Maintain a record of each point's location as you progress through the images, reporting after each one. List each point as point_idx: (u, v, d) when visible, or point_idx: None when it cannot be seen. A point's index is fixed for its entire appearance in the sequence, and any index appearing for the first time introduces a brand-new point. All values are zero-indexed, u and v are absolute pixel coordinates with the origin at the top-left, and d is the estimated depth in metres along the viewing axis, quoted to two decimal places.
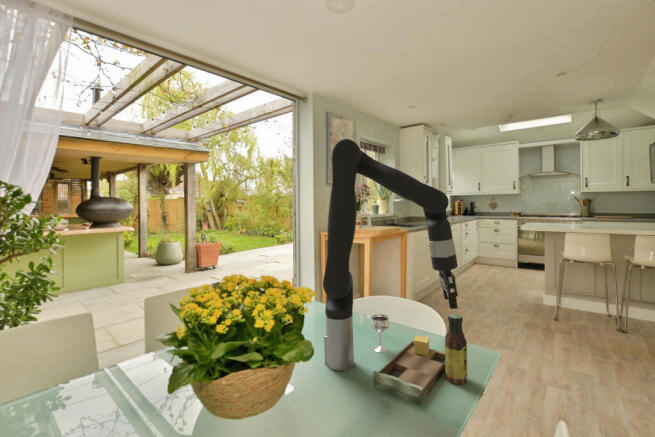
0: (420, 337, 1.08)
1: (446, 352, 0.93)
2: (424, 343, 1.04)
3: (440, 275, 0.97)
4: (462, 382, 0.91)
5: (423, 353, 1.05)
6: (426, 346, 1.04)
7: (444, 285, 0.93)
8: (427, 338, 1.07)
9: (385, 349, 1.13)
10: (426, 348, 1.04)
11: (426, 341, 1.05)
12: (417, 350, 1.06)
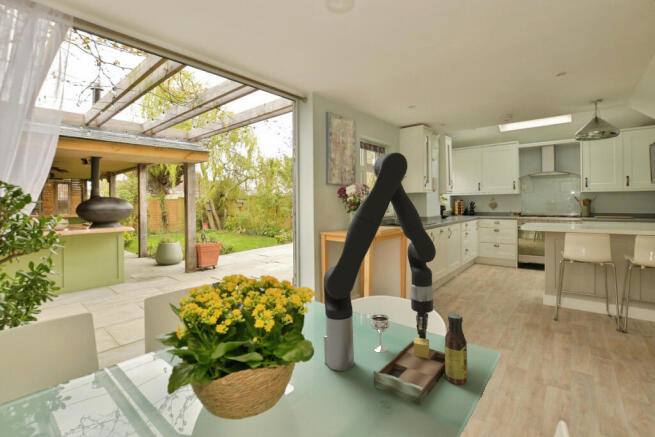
0: (420, 339, 1.06)
1: (446, 352, 0.93)
2: (423, 346, 1.03)
3: (417, 313, 1.10)
4: (462, 382, 0.91)
5: (423, 356, 1.03)
6: (426, 349, 1.02)
7: None
8: (427, 340, 1.05)
9: (385, 349, 1.13)
10: (426, 351, 1.02)
11: (426, 343, 1.03)
12: (417, 353, 1.04)
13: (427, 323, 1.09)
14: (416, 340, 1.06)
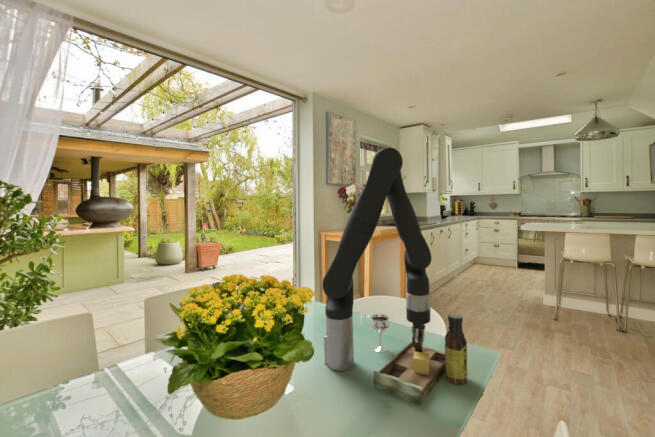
0: (419, 354, 0.97)
1: (446, 352, 0.93)
2: (424, 361, 0.93)
3: (413, 324, 1.01)
4: (462, 382, 0.91)
5: (423, 372, 0.93)
6: (427, 364, 0.93)
7: None
8: (427, 355, 0.96)
9: (385, 349, 1.13)
10: (427, 366, 0.93)
11: (427, 358, 0.94)
12: (417, 369, 0.94)
13: None
14: (415, 355, 0.96)
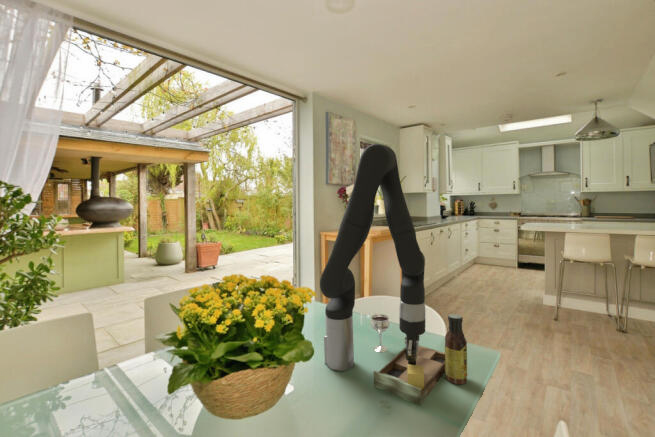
0: (413, 367, 0.89)
1: (446, 352, 0.93)
2: (419, 376, 0.86)
3: (407, 334, 0.93)
4: (462, 382, 0.91)
5: (418, 387, 0.86)
6: (422, 379, 0.86)
7: (406, 349, 0.91)
8: (422, 368, 0.89)
9: (385, 349, 1.13)
10: (422, 381, 0.86)
11: (422, 373, 0.86)
12: (411, 384, 0.87)
13: (418, 346, 0.92)
14: (409, 368, 0.89)
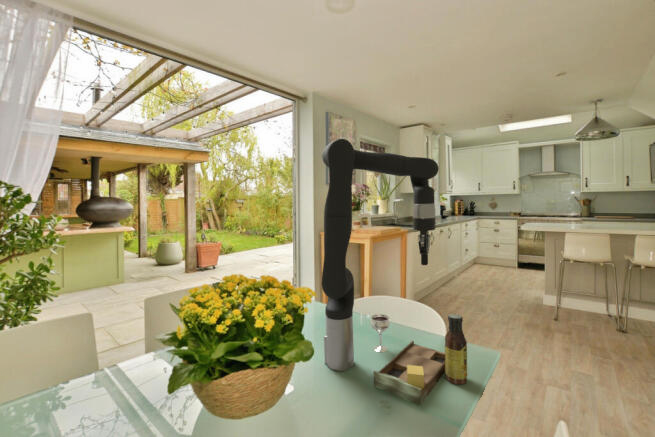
0: (413, 367, 0.89)
1: (446, 352, 0.93)
2: (419, 376, 0.86)
3: None
4: (462, 382, 0.91)
5: None
6: (422, 379, 0.86)
7: None
8: (421, 368, 0.89)
9: (385, 349, 1.13)
10: (422, 382, 0.86)
11: (421, 373, 0.86)
12: None
13: (429, 243, 1.08)
14: (409, 369, 0.89)
